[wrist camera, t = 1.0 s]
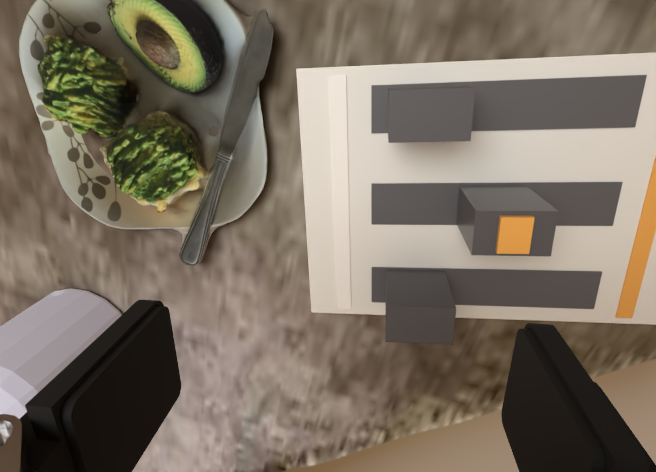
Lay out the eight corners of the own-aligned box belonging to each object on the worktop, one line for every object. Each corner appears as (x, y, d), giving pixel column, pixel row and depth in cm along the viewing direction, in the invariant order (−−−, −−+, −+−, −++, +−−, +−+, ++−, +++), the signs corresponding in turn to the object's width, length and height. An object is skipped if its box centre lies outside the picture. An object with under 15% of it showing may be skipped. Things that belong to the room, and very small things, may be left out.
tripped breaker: (526, 186, 25) (561, 212, 20) (521, 224, 26) (552, 258, 21) (459, 186, 26) (477, 212, 21) (456, 223, 27) (472, 257, 22)
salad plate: (299, 257, 32) (286, 285, 28) (91, 256, 34) (50, 282, 30) (275, -33, 25) (252, -55, 21) (16, -8, 27) (-52, -23, 23)
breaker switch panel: (716, 50, 23) (843, 41, 17) (644, 309, 30) (717, 374, 23) (302, 69, 27) (276, 67, 20) (315, 299, 33) (298, 354, 26)
